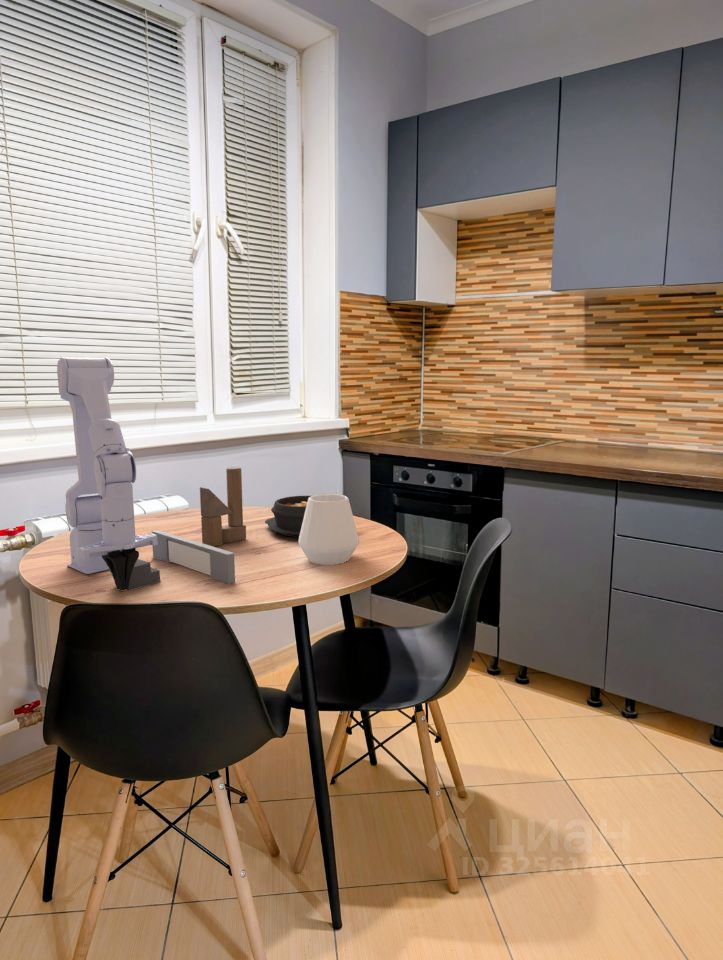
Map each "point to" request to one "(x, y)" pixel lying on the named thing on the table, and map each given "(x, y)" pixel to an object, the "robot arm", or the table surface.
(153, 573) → the dark grey block
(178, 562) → the door
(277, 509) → the casserole
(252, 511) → the table surface
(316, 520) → the white faceted vase
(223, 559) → the wall frame
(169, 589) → the table surface
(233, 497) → the brown wooden block structure
